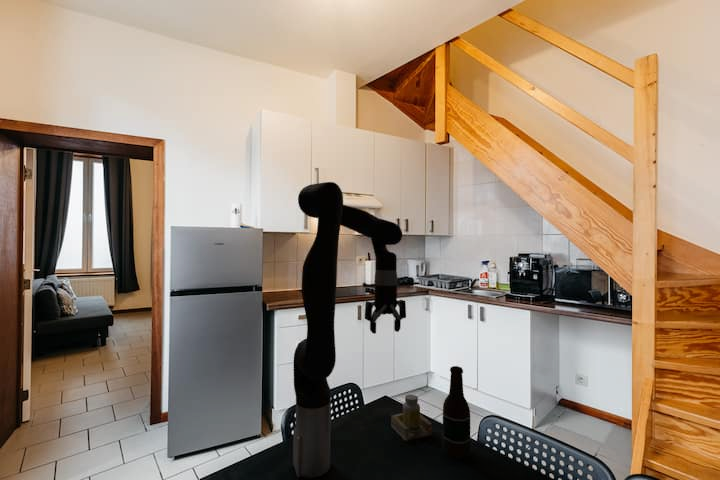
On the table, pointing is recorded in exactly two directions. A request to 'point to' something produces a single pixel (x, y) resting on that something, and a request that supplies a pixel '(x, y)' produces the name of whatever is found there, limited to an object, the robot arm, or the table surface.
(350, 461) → the table surface
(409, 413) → the supplement bottle
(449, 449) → the beer bottle
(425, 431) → the u holder
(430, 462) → the table surface
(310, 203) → the robot arm
